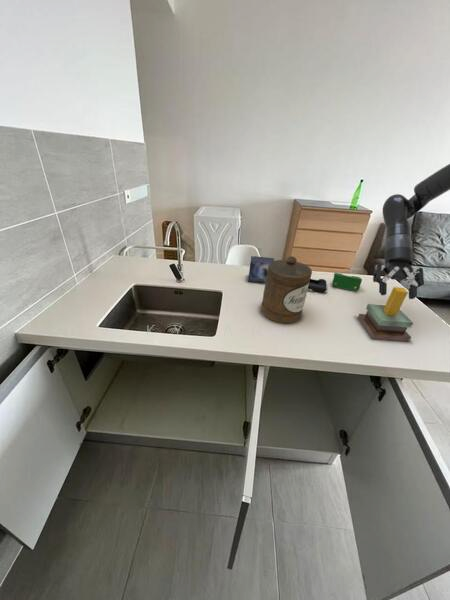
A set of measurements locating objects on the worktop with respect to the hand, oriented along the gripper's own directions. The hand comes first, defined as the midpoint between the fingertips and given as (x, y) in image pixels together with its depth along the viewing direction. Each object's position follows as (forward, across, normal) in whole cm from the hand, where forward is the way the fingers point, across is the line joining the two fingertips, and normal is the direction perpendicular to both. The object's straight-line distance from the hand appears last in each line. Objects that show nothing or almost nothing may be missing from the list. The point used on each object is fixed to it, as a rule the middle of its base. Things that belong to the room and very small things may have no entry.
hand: (397, 296), depth 78 cm
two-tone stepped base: (+9, 0, +10) cm, 14 cm away
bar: (+4, 0, +5) cm, 6 cm away
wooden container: (+8, -35, +11) cm, 38 cm away
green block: (-12, -6, +32) cm, 35 cm away
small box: (-9, -45, +28) cm, 54 cm away
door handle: (-11, -24, +30) cm, 41 cm away
